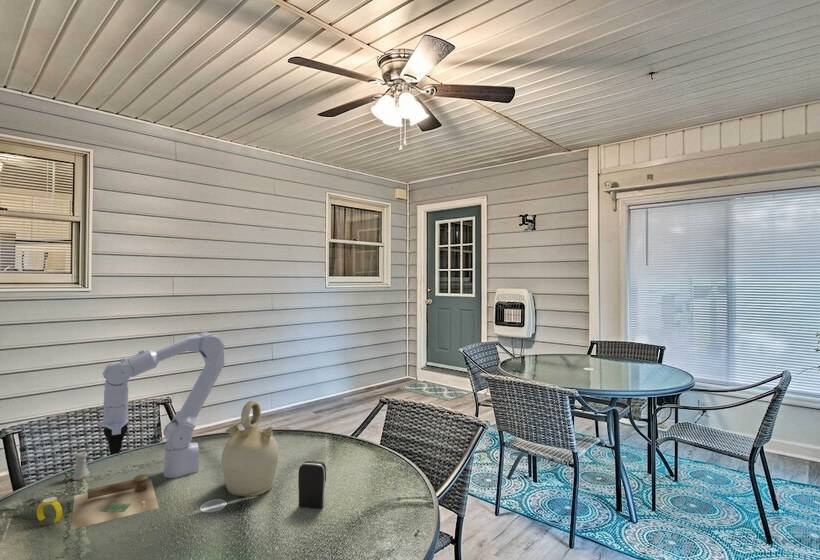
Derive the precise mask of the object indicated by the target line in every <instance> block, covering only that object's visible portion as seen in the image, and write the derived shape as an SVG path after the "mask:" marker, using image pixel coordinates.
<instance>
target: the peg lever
mask: <svg viewBox="0 0 820 560" xmlns="http://www.w3.org/2000/svg"><path fill="white" fill-rule="evenodd" d="M147 480H149V475H148V474H138V475H136V476H134V478H133V479H132V480H127V481H122V482H118V483H113V484H107V485H103V486H102V485H101V486H98V487H97V486H96V487H93V488H89V489H87V493H88V499H90V498H94V497H99V496H103V495H108V494H112V493H117V492H122V491H126V490H131V489H135V491H136V492H141V491H144V490H146V489H147Z"/></svg>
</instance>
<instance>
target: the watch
mask: <svg viewBox="0 0 820 560" xmlns="http://www.w3.org/2000/svg"><path fill="white" fill-rule="evenodd" d="M46 505H51V506H53V508H54V510H55V516H56V517H55V519H54V521H53V524H54V523H57V522H59V521H60V520H61V519H62V517H63V508H62V507H63V506H61V503H60V502H59V501H58V497H57V496H50V497H47V498H44V499H43V500H42V501H41V503H40V504H39V505H38V507H37V509H36V517H37V520H38V521H40V522H41V521H43V520H45V519H46V517H45V514H44V507H45V506H46Z"/></svg>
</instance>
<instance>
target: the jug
mask: <svg viewBox="0 0 820 560" xmlns="http://www.w3.org/2000/svg"><path fill="white" fill-rule="evenodd" d="M251 410H252V418H251V420H250V413H251ZM261 413H262V412H261V406H260V404H259V403H258V402H257V401H254V400H250V401H248V402H246V403H245V404H244V405H243V407H242V410H241V414H240V421H241V425H242V427H243V428H244V429H243V430H241V429H239V423H238V422H236V423H234V424H233V425H231V426H229V427H227V429H225V431H224V432H226V433H227V434H229V435H230V437H229V440H228V441H226V444H225V445H224V447H223V449H222V454H221V466H222V467H221V468H222V473H223V474H222V475H223V479H224V482H225V486H226V487H225V488H226V490H227V491H228V493H229V494H231V495H234V496H243V497H241V498H243V499H245V497H247V498H252V497H257V495H258V496H261V495H264V494H266V493H268V492H269V491H270V490H271V489H272V487H273V485H274V480H275V478H276V477H275V476H276V472H277V467H278V462H279V446H278V443H277V441H276V439H275V437H274V436H273V430H274V428H273V426H269V427H267V428H264V429H261V428H260V429H259V426H258V425H259V424H260V420H261ZM267 491H268V492H267ZM265 492H266V493H265ZM260 494H261V495H260Z"/></svg>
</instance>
